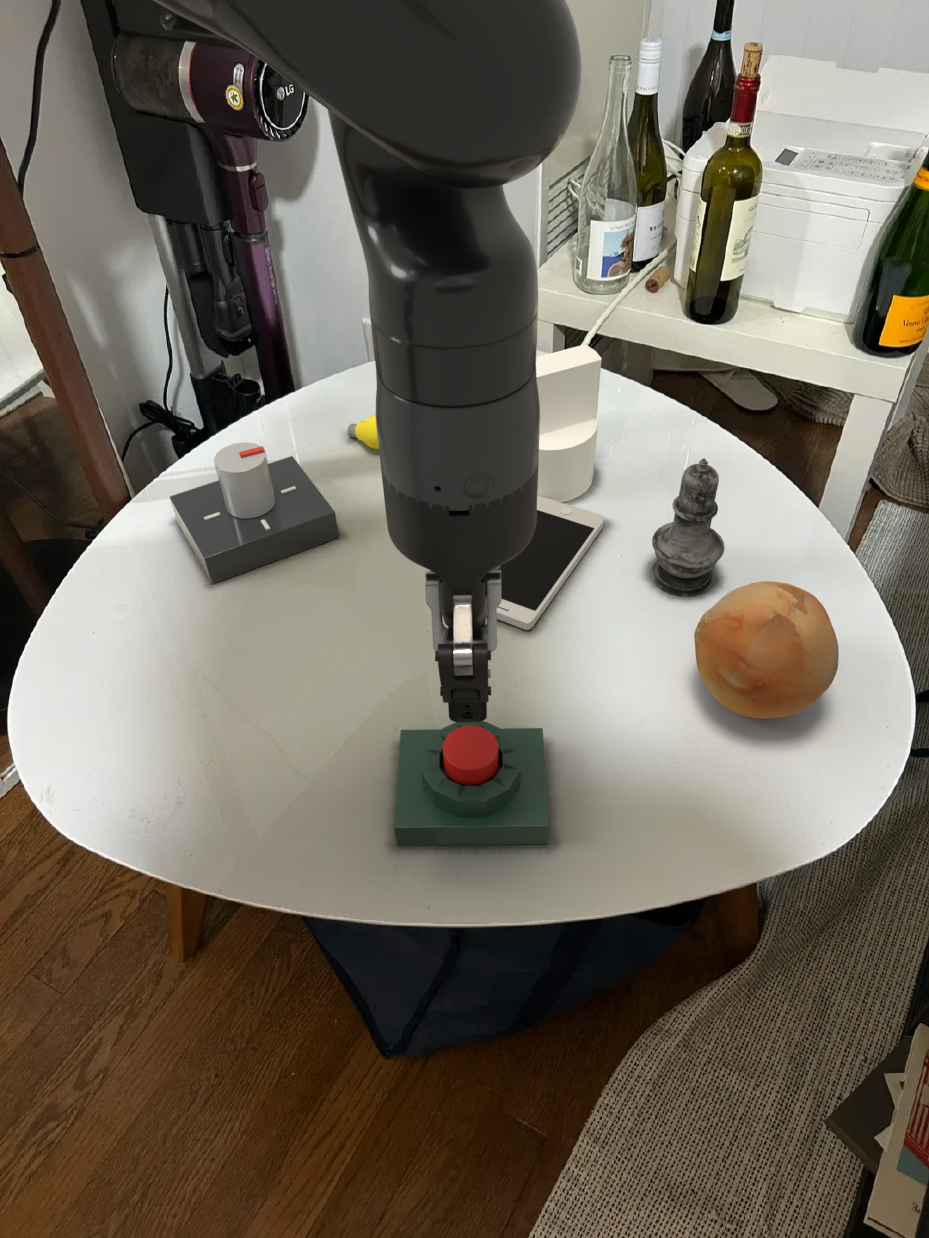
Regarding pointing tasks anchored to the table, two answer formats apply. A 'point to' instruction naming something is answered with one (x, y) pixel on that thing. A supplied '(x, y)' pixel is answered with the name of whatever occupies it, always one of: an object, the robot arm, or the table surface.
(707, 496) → the grey chess piece
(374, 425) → the light bulb
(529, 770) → the button block
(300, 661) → the table surface
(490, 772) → the stop button
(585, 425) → the base with upright slab
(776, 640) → the onion
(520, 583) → the smartphone
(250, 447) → the rotary knob
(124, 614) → the table surface
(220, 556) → the dark grey flat block
